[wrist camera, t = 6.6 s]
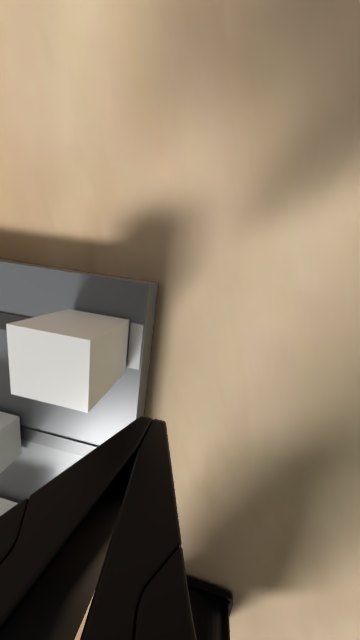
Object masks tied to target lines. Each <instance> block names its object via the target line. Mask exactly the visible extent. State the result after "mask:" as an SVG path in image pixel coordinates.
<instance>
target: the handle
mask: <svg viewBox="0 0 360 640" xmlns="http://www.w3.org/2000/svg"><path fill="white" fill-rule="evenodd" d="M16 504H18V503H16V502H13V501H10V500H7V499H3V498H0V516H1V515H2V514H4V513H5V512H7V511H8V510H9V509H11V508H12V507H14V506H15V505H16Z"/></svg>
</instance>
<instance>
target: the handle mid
mask: <svg viewBox="0 0 360 640" xmlns="http://www.w3.org/2000/svg"><path fill="white" fill-rule="evenodd" d="M21 454H22V452H21V436H20V419H19V416H16V415H12V414H8V413H4V412H1V411H0V473H1V472H2V471H4V470H5V469H6V468H7V467H8V466H9V465H10V464H11V463H12V462H13V461H14V460H15V459H16V458H18V457H19V456H20V455H21Z"/></svg>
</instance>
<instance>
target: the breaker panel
mask: <svg viewBox="0 0 360 640" xmlns="http://www.w3.org/2000/svg"><path fill="white" fill-rule="evenodd" d="M157 292H158V283H156V282H149V281H143V280H136V279H129V278H123V277H116V276H109V275H103V274H96V273H89V272H83V271H76V270H69V269H63V268H56V267H50V266H43V265H36V264H30V263H23V262H16V261H10V260H3V259H0V411H1V412H4V413H8V414H12V415H16V416H19V419H20V436H21V452H22V454H21V455H20V456H19V457H18V458H16V459H15V460H14V461H13V462H12V463H11V464H10V465H9V466H8V467H7V468H6V469H5V470H4V471H2V472H1V473H0V498H3V499H7V500H10V501H13V502H16V503H19V502H21V501H22V500H23V499H25V498H28V499H29V496H30V495H31V494H32V493H34V492H35V491H36V490H38V489H39V488H41V487H42V486H43V485H45V484H46V483H48V482H49V481H50V480H52V479H53V478H55V477H56V476H57V475H59V474H60V473H62V472H63V471H64V470H66V469H67V468H69V467H70V466H71V465H73V464H74V463H76V462H77V461H78V460H80V459H81V458H83V457H84V456H85V455H87V454H88V453H90V452H91V451H92V450H94V449H95V448H97V447H98V446H99V445H101V444H102V443H104V442H105V441H106V440H108V439H109V438H111V437H112V436H113V435H115V434H116V433H118V432H119V431H120V430H122V429H123V428H125V427H126V426H127V425H129V424H130V423H132V422H133V421H134V420H136V419H137V418H139V417H140V416H144V411H145V402H146V392H147V383H148V374H149V365H150V356H151V347H152V337H153V328H154V319H155V310H156V301H157ZM67 309H72V310H77V311H83V312H89V313H94V314H100V315H105V316H111V317H117V318H122V319H128V320H129V331H128V344H127V356H126V369H125V373H124V374H123V375H122V376H121V377H120V379H119V380H118V381H117V382H116V383H115V384H114V385H113V386H112V387H111V388H110V389H109V391H108V392H107V393H106V394H105V395H104V396H103V397H102V398H101V399H100V400H99V401H98V403H97V404H96V405H95V406H94V407H93V408H92V409H91V410H90V411H89V412H88V413H86V412H82V411H78V410H74V409H70V408H66V407H62V406H58V405H54V404H50V403H46V402H42V401H37V400H33V399H29V398H25V397H21V396H17V395H13V394H11V387H10V373H9V358H8V344H7V330H6V324H7V323H12V322H16V321H20V320H24V319H29V318H33V317H37V316H41V315H46V314H50V313H54V312H58V311H63V310H67Z"/></svg>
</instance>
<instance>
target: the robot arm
mask: <svg viewBox="0 0 360 640" xmlns="http://www.w3.org/2000/svg"><path fill="white" fill-rule="evenodd" d="M94 591H95V592H94ZM93 594H94V596H93ZM92 596H93V599H92ZM91 599H92V602H91V606H90V609H89V612H88V615H87V619H86V622H85V625H84V629H83V632H82V635H81V638H80V640H230V628H229V616H230V612H231V609H232V606H233V595H232V594H231V593H230V592H228V591H225V590H222V589H219V588H216V587H213V586H210V585H207V584H204V583H201V582H198V581H195V580H192V579H189V578H186V572H185V565H184V557H183V549H182V547H181V536H180V528H179V520H178V512H177V505H176V497H175V489H174V481H173V474H172V466H171V458H170V451H169V443H168V435H167V427H166V422H165V421H162V420H157V419H154V420H153V419H152V418H149V417H145V416H140V417H139V418H137V419H136V420H134V421H133V422H132V423H130V424H129V425H127V426H126V427H125V428H123V429H122V430H120V431H119V432H118V433H116V434H115V435H113V436H112V437H111V438H109V439H108V440H106V441H105V442H104V443H102V444H101V445H99V446H98V447H97V448H95V449H94V450H92V451H91V452H90V453H88V454H87V455H85V456H84V457H83V458H81V459H80V460H78V461H77V462H76V463H74V464H73V465H71V466H70V467H69V468H67V469H66V470H64V471H63V472H62V473H60V474H59V475H57V476H56V477H55V478H53V479H52V480H50V481H49V482H48V483H46V484H45V485H43V486H42V487H41V488H39V489H38V490H36V491H35V492H34V493H32V494H31V495H30V496H29V499H28V498H25V499H23V500H22V501H21V502H19V503H18V504H16V505H15V506H14V507H12V508H11V509H9V510H8V511H7V512H5V513H4V514H2V515H1V516H0V640H74V639H75V637H76V634H77V632H78V630H79V627H80V625H81V622H82V620H83V618H84V615H85V613H86V610H87V608H88V606H89V603H90V601H91Z"/></svg>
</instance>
